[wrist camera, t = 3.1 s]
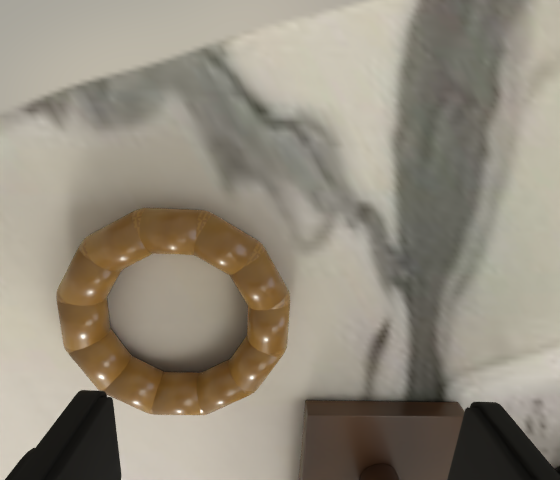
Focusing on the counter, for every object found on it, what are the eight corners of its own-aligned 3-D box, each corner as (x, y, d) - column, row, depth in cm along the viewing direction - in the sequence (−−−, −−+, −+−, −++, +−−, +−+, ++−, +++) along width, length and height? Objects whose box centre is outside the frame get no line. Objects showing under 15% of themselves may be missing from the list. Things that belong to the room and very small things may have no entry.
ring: (86, 393, 17) (66, 423, 15) (60, 199, 14) (31, 209, 12) (281, 396, 17) (283, 425, 16) (293, 209, 14) (297, 219, 13)
